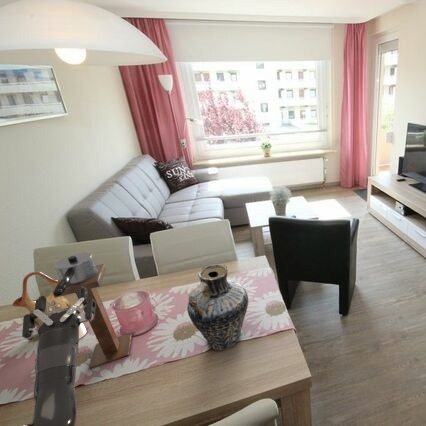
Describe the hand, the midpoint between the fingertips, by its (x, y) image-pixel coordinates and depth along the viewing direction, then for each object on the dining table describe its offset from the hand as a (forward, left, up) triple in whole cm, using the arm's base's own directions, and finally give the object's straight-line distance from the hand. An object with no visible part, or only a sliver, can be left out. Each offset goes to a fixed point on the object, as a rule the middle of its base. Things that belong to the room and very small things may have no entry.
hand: (62, 292), depth 79 cm
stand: (0, +13, -35) cm, 38 cm away
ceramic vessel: (-23, +40, -35) cm, 58 cm away
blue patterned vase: (+37, -1, -35) cm, 51 cm away
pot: (0, +8, -3) cm, 8 cm away
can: (-14, +28, -35) cm, 47 cm away
